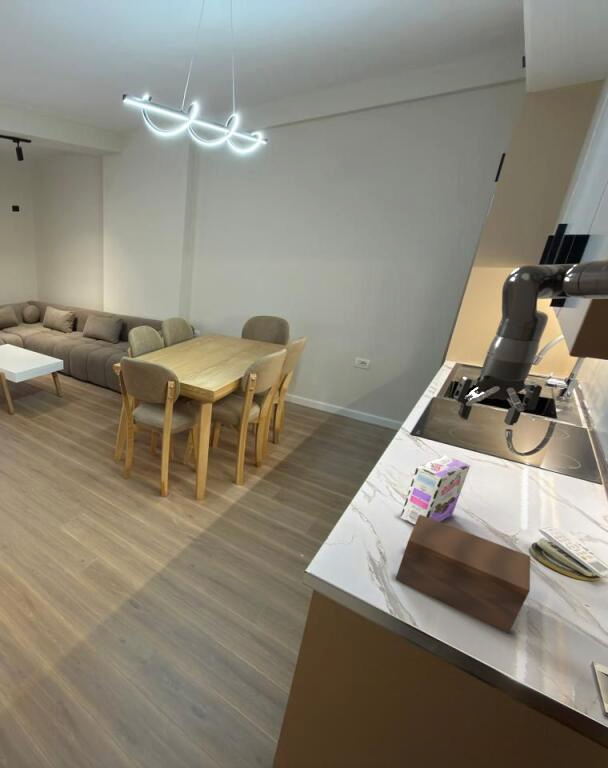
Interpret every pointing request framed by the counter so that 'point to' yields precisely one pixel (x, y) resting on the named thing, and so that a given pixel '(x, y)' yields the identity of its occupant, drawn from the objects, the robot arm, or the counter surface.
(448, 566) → the walnut wooden block
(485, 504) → the counter surface
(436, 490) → the candy box
